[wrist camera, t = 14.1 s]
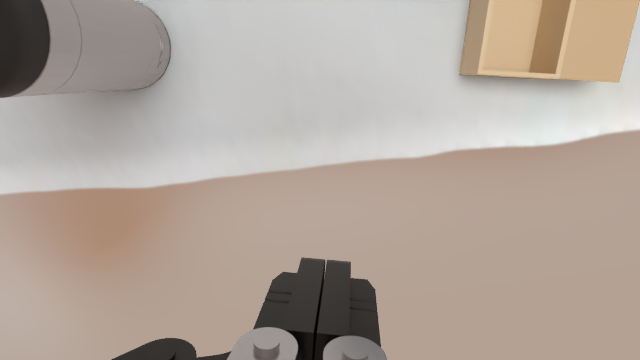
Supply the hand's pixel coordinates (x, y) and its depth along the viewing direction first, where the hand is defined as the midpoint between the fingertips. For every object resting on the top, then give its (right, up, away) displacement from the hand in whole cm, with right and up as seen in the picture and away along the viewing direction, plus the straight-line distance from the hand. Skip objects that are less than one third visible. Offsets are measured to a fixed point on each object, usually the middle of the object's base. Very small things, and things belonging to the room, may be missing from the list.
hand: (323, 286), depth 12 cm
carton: (+21, +20, +26) cm, 39 cm away
